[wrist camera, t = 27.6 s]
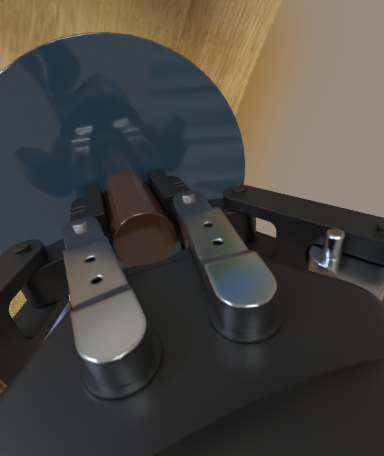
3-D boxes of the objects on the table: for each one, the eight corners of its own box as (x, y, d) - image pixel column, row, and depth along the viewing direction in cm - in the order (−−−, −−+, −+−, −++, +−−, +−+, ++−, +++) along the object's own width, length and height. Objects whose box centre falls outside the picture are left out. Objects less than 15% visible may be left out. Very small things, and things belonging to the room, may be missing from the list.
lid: (-107, 57, 10) (-281, 49, 5) (230, 17, 14) (322, -12, 8) (41, 312, 18) (27, 411, 13) (239, 248, 21) (291, 307, 16)
